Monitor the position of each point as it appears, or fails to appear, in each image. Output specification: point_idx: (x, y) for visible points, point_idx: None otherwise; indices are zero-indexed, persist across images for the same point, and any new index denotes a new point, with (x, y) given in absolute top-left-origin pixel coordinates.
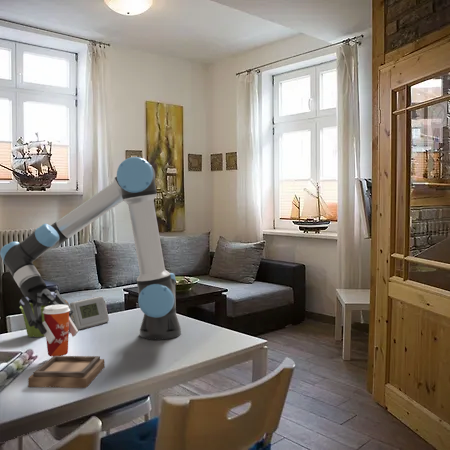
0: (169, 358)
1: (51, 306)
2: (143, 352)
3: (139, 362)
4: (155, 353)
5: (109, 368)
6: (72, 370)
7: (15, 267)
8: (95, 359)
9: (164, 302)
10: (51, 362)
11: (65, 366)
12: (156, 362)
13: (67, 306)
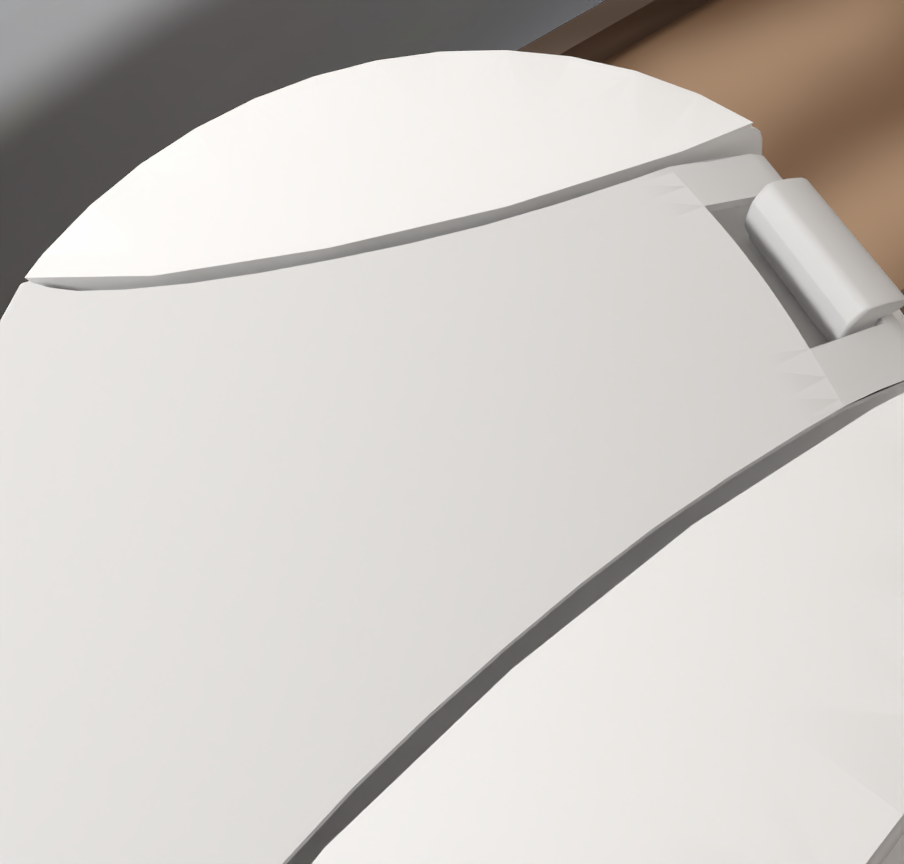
0: (69, 10)
1: (466, 714)
2: (9, 214)
3: (224, 76)
4: (2, 138)
5: None
6: (810, 61)
7: None
8: (555, 40)
9: None
10: None
11: (799, 177)
12: (174, 8)
13: (164, 159)
